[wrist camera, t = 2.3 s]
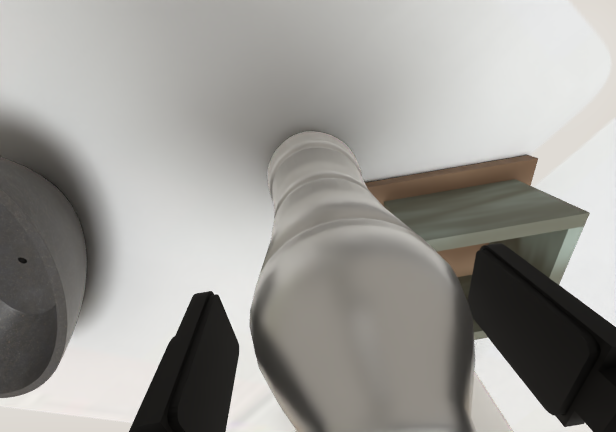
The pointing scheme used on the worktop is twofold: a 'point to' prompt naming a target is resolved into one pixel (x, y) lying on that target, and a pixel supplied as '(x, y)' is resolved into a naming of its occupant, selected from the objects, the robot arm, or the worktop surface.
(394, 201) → the bottle holder
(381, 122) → the worktop surface
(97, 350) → the worktop surface
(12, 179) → the bowl
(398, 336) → the silver bottle
